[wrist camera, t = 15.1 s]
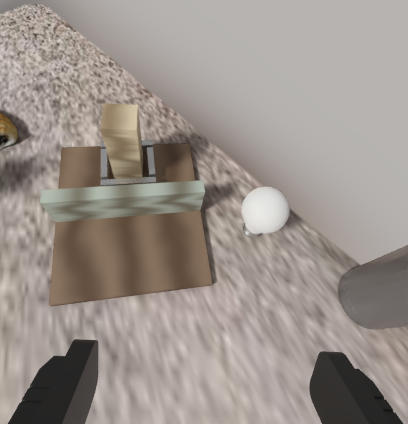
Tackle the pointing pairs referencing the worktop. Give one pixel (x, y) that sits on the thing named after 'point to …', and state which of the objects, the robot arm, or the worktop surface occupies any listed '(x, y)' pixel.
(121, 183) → the keeper socket
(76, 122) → the worktop surface
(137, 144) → the block
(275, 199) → the light bulb
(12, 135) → the pastry
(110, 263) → the door mockup
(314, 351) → the worktop surface
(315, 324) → the worktop surface
